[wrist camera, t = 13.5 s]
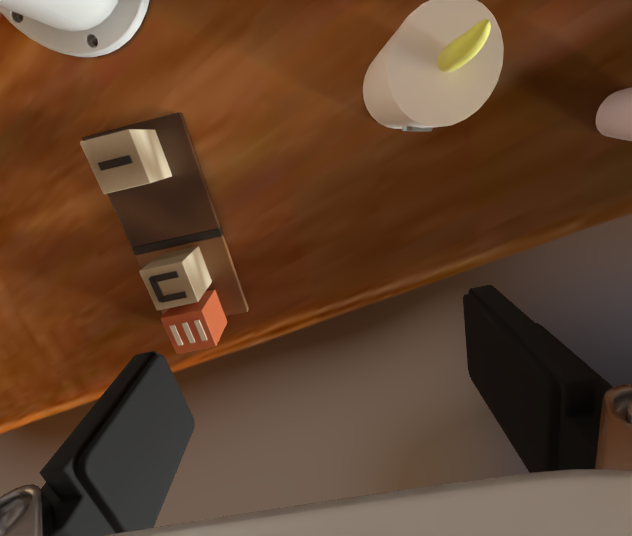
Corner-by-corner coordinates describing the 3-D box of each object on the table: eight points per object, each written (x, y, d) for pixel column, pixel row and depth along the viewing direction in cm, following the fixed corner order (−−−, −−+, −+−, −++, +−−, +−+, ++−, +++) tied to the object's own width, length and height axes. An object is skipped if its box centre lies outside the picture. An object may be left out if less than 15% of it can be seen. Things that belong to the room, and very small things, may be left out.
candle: (360, 131, 29) (400, 130, 16) (364, 43, 27) (416, -50, 13) (432, 131, 29) (537, 130, 16) (443, 43, 27) (578, -50, 13)
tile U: (160, 253, 33) (137, 271, 29) (198, 245, 33) (181, 261, 29) (175, 289, 35) (156, 311, 30) (212, 281, 34) (198, 302, 30)
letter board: (85, 137, 30) (81, 137, 29) (181, 112, 29) (179, 112, 28) (170, 325, 37) (167, 328, 36) (249, 308, 36) (248, 311, 36)
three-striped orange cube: (178, 296, 35) (159, 319, 31) (215, 288, 35) (201, 310, 30) (192, 329, 36) (176, 354, 32) (227, 321, 36) (216, 346, 32)
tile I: (112, 140, 29) (78, 141, 25) (155, 129, 29) (128, 128, 25) (131, 186, 31) (102, 194, 26) (172, 176, 30) (150, 183, 26)
